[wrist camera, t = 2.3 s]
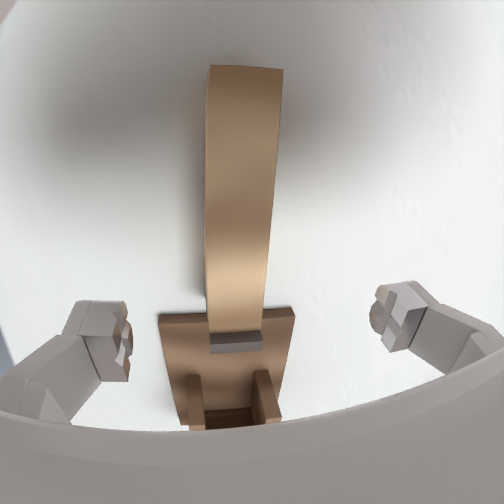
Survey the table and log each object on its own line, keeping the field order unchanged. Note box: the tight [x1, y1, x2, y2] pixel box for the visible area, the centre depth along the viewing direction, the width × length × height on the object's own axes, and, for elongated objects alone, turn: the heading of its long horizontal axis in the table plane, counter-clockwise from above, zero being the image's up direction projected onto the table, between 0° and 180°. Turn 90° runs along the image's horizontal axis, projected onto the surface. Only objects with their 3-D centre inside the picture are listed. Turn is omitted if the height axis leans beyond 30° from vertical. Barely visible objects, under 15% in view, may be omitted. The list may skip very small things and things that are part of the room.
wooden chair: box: [158, 308, 295, 431], centre depth 20 cm, size 15×10×12 cm, turn 176°
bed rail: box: [204, 65, 283, 354], centre depth 15 cm, size 15×3×5 cm, turn 176°
